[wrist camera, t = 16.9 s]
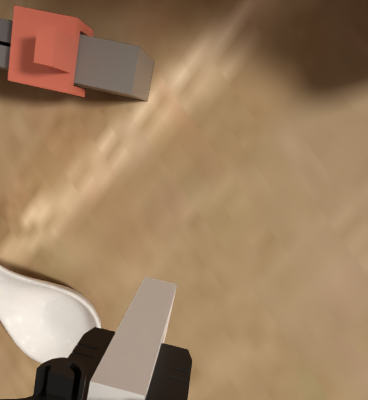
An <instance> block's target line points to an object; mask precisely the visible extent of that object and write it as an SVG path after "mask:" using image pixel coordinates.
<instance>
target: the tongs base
mask: <svg viewBox="0 0 368 400" xmlns="http://www.w3.org/2000/svg"><path fill="white" fill-rule="evenodd" d="M12 25H13V21H11V20H6V19H1V18H0V45H3V46H8V47H11V36H12ZM153 67H154V61H153V60H152V59H151V58H150V57H149V56H148V55H147V54H146V53H145V52H144V51H143V49H142V48H141V47H140V46H136V45H131V44H126V43H121V42H116V41H111V40H106V39H101V38H96V37H91V36H86V35H81V34H80V38H79V46H78V54H77V62H76V69H75V77H74V85H76V86H79V87H83V88H87V89H92V90H97V91H102V92H106V93H111V94H116V95H121V96H125V97H130V98H135V99H140V100H144V101H148V96H149V90H150V84H151V79H152V73H153Z"/></svg>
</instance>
